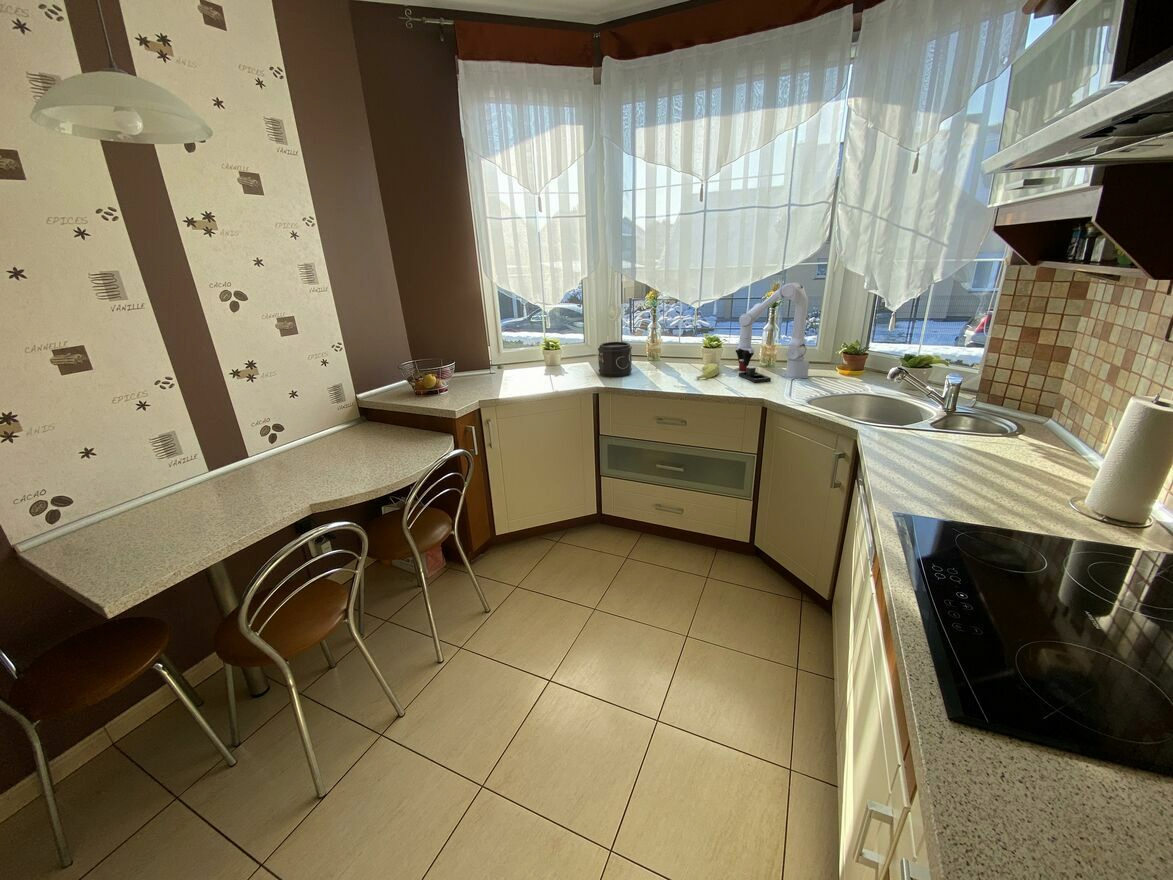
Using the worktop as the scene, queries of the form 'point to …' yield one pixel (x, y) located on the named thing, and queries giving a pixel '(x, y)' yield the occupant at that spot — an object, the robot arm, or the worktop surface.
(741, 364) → the pod
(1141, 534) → the worktop surface
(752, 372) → the pod
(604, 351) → the dark cylindrical canister
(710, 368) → the pale green gourd
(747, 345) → the robot arm
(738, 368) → the coaster
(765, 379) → the rack
